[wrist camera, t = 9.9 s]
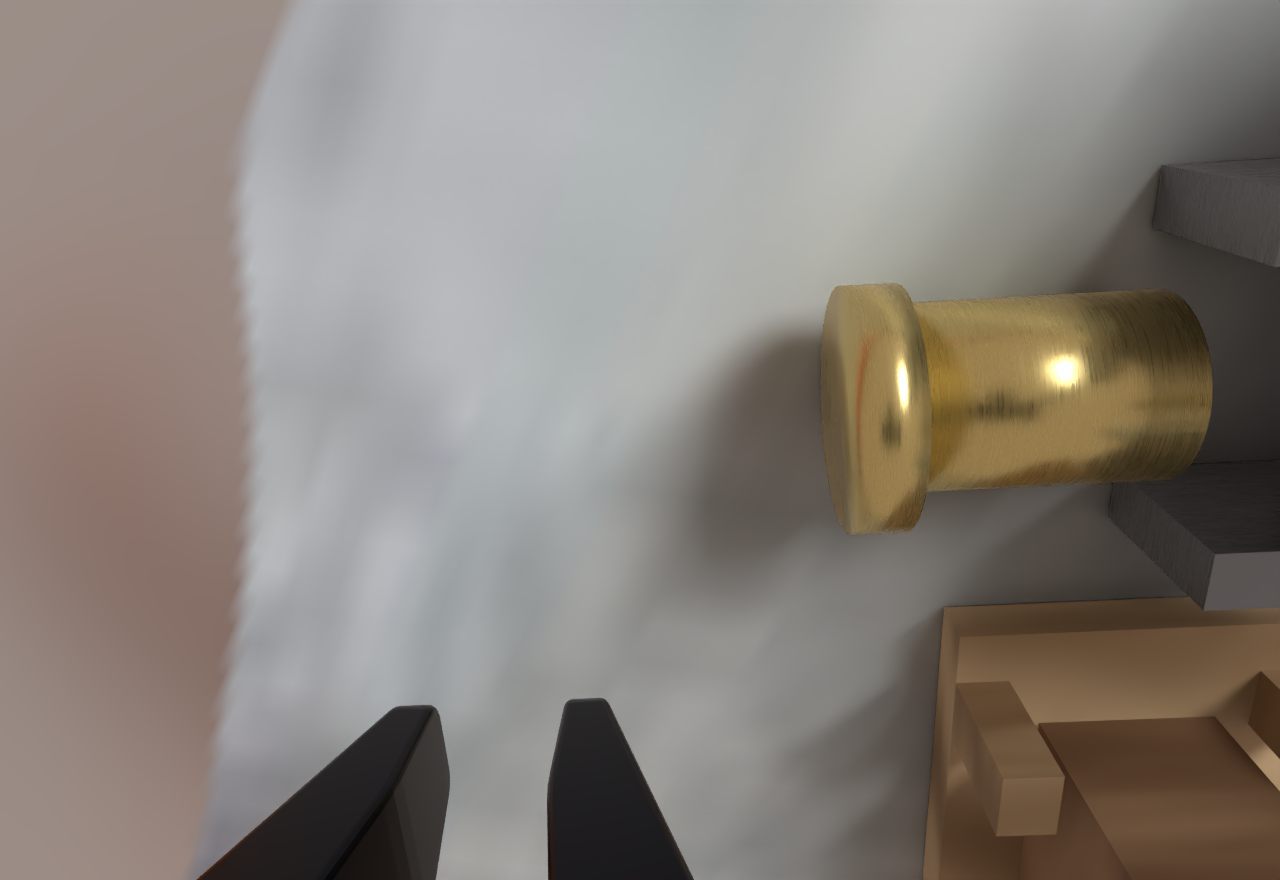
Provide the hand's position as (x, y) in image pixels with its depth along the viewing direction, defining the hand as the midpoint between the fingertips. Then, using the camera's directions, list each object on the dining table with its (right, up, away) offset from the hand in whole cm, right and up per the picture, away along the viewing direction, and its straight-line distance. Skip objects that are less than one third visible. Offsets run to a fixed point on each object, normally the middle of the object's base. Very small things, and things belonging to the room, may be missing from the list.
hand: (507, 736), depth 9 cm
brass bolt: (+9, +5, +10) cm, 14 cm away
